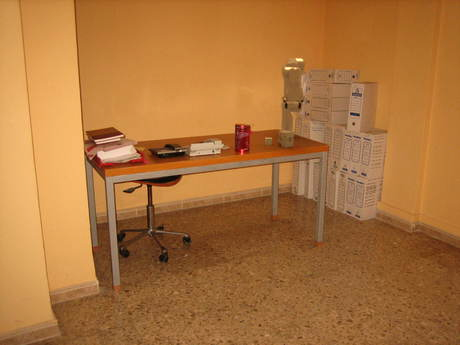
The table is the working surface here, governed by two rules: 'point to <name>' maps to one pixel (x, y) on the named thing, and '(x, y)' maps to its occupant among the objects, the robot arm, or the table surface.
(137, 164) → the table surface
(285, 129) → the robot arm
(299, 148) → the table surface
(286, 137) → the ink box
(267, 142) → the sage block
